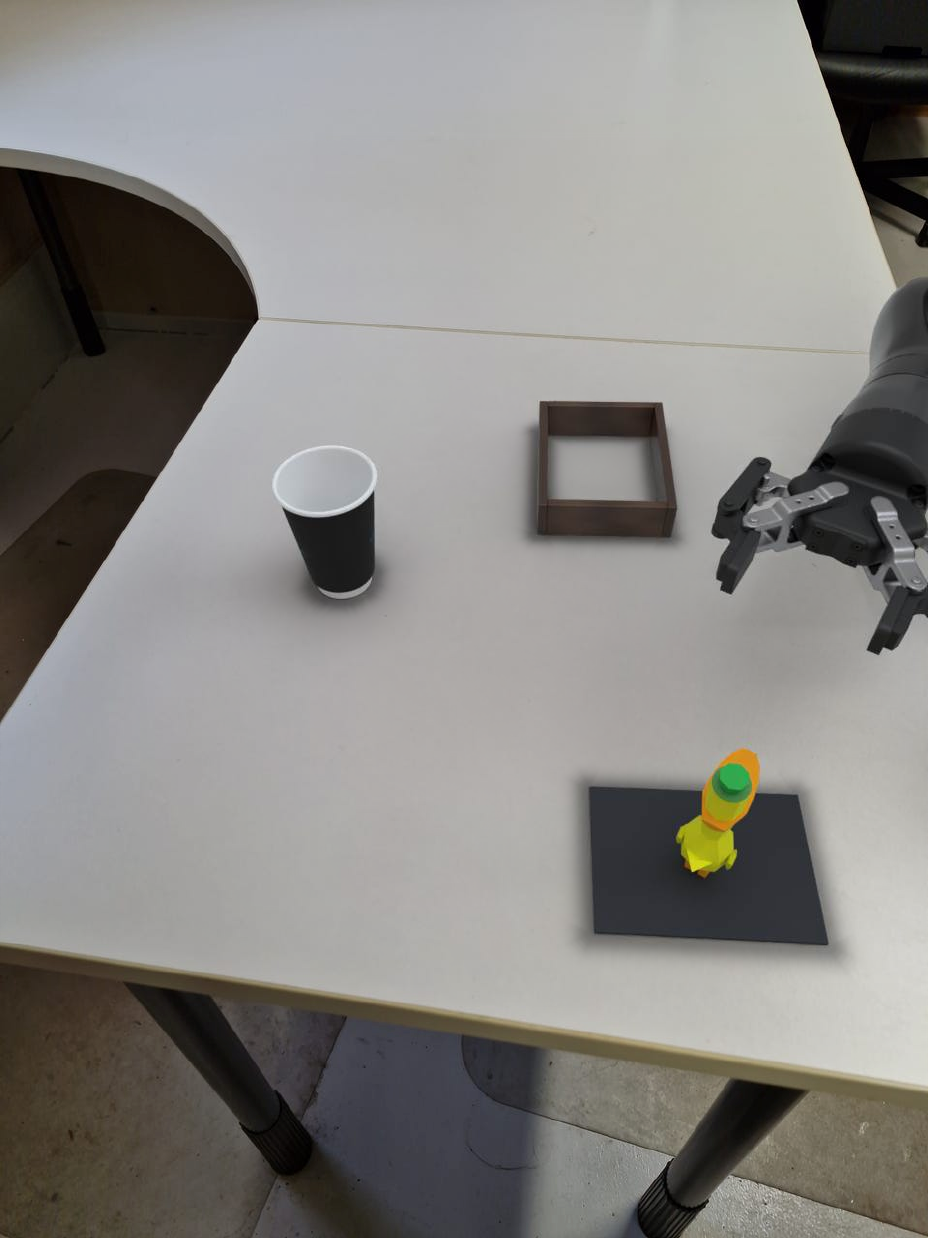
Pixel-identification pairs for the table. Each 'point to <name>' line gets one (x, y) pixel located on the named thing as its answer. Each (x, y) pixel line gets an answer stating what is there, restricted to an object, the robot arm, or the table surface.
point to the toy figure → (720, 813)
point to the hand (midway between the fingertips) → (799, 612)
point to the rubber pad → (683, 900)
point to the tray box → (606, 513)
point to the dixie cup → (331, 515)
